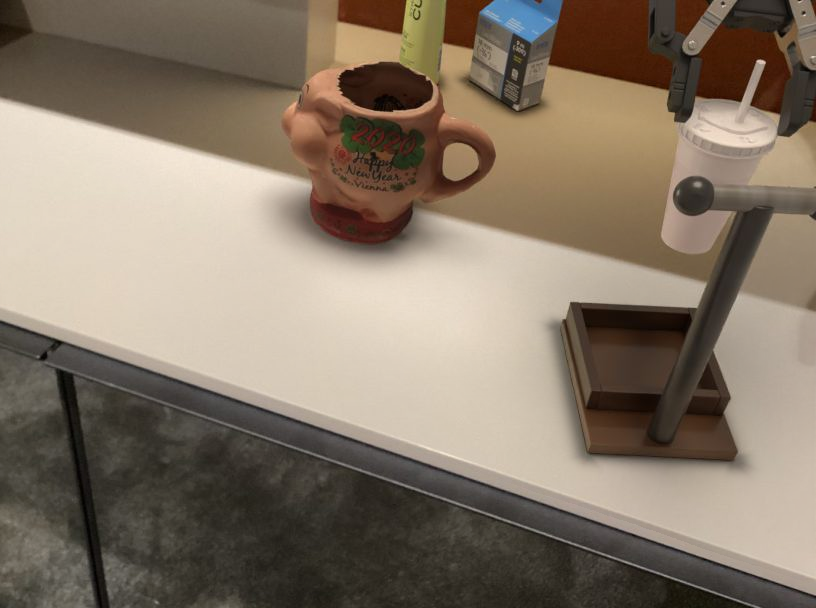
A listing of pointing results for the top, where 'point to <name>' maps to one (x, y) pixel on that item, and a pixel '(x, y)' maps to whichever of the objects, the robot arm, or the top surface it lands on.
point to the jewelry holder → (671, 341)
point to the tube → (423, 36)
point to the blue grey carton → (514, 49)
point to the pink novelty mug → (377, 147)
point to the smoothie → (716, 160)
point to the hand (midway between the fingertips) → (735, 125)
